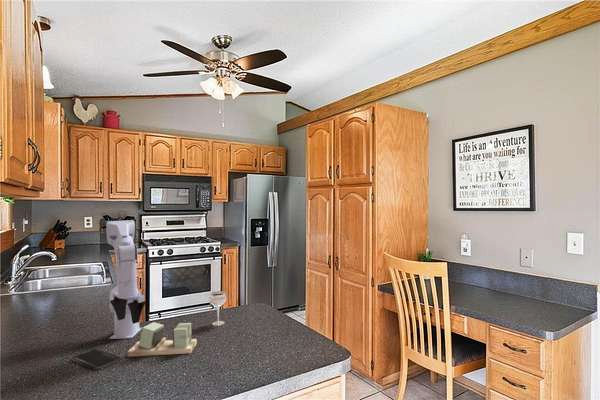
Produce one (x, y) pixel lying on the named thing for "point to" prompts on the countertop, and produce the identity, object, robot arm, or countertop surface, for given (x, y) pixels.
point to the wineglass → (217, 303)
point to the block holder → (169, 343)
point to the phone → (96, 359)
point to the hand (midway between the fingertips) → (128, 321)
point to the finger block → (151, 335)
